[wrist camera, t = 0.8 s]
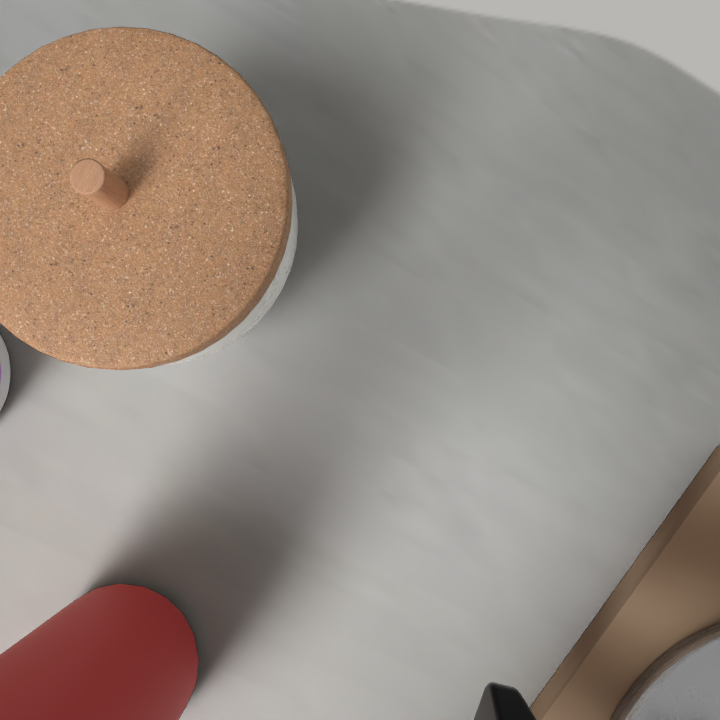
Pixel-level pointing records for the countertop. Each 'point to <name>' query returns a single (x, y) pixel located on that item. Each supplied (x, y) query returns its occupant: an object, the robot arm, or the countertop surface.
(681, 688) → the dial
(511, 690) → the robot arm
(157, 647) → the beer can
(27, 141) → the lidded jar
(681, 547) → the base plate
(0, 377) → the supplement bottle
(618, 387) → the countertop surface
